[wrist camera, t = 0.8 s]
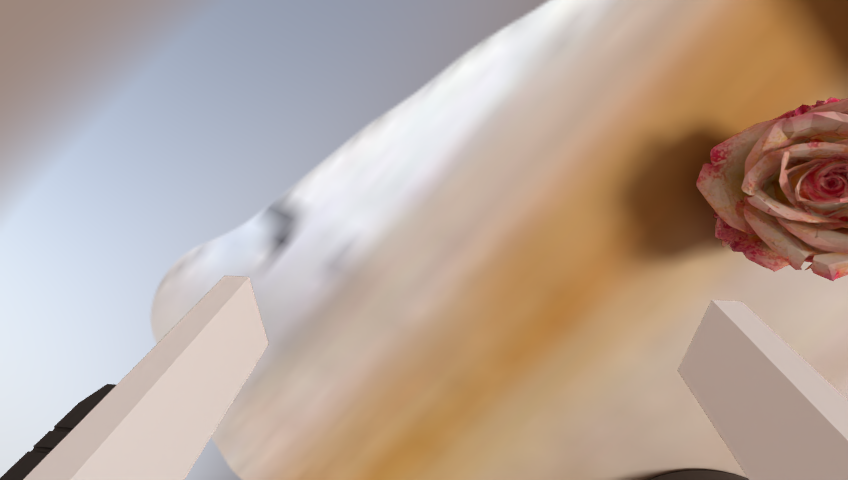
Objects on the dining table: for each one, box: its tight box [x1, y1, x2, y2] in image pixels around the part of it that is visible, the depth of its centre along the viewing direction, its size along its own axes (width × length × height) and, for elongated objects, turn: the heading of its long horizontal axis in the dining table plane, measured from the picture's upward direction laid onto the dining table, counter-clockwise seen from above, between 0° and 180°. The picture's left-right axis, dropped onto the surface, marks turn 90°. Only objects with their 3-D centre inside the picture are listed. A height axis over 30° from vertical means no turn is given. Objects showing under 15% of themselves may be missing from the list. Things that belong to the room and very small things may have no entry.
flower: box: [696, 98, 848, 281], centre depth 19 cm, size 10×9×8 cm
